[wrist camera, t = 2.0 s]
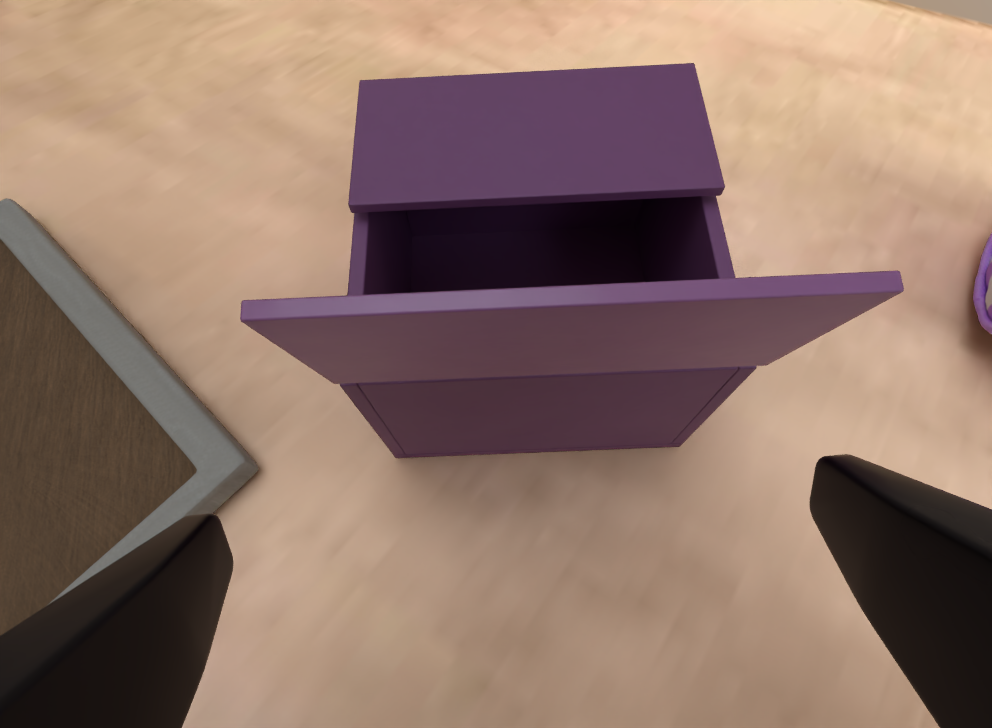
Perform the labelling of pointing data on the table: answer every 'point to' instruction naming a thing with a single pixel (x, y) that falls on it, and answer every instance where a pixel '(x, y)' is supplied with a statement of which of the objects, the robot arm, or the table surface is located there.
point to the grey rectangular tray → (88, 429)
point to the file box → (537, 240)
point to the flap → (565, 326)
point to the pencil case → (984, 288)
